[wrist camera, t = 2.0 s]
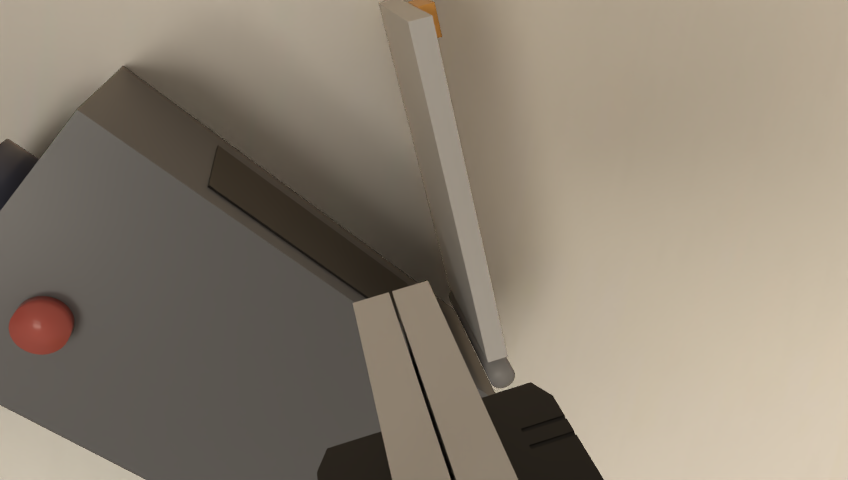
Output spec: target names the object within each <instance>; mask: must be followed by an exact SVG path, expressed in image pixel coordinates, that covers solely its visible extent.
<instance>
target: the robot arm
mask: <svg viewBox="0 0 848 480" xmlns="http://www.w3.org/2000/svg"><path fill="white" fill-rule="evenodd" d="M392 293H393V297H394V300H395V304H396V307H397V311H398V314H399V318H400V321H401V325H402V329H403V332H404V336H405V339H406V343H407V346H408V349H407V346H406V343H405V340H404V337H403V334H402V331H401V328H400V325H399V322H398V319H397V316H396V313H395V309H394V306H393V303H392V300H391V297H390V294H389V292H388V293H384V294H381V295H378V296H374V297H371V298H368V299H364V300H361V301H358V302H354V303H353V307H354V312H355V316H356V321H357V325H358V330H359V334H360V338H361V343H362V347H363V352H364V356H365V361H366V365H367V370H368V374H369V379H370V383H371V387H372V392H373V396H374V401H375V405H376V410H377V414H378V419H379V423H380V428H381V432H378V433H375V434H371V435H368V436H365V437H362V438H359V439H355V440H352V441H349V442H346V443H343V444H339V445H336V446H333V447H330V448H327V450H326V452H325V454H324V457H323V459H322V461H321V464H320V466H319V468H318V471H317V479H318V480H604V479H603V478H602V476H601V474H600V473H599V471H598V469H597V468H596V466H595V464H594V463H593V461H592V460H591V458H590V456H589V455H588V453H587V451H586V450H585V448H584V446H583V445H582V443H581V441H580V440H579V438H578V437H577V435H575V433H574V430H573V428H572V427H571V425H570V423H569V422H568V420H567V419H566V418H565V416H564V414H563V412H562V410H561V409H560V407H559V405H558V404H557V402H556V400H555V399H554V397H553V396H552V395H551V394H549V393H547V392H546V391H544V390H542V389H541V388H539V387H538V386H536V385H534V384H533V383H527V384H524V385H521V386H518V387H515V388H511V389H508V390H505V391H502V392H499V393H495V394H492V395H489V396H486V397H483V398H481V396H480V394H479V392H478V390H477V388H476V385H475V383H474V381H473V379H472V377H471V374H470V372H469V370H468V368H467V366H466V363H465V361H464V359H463V357H462V355H461V352H460V350H459V348H458V346H457V344H456V341H455V339H454V337H453V335H452V333H451V330H450V328H449V326H448V324H447V322H446V319H445V317H444V315H443V313H442V311H441V308H440V306H439V304H438V302H437V300H436V297H435V295H434V293H433V291H432V289H431V286H430V284H429V282H428V281H425V282H421V283H418V284H415V285H411V286H408V287H405V288H401V289H398V290H395V291H392ZM408 350H409V352H408ZM409 353H410V355H409ZM410 357H411V358H410ZM411 360H412V361H411Z"/></svg>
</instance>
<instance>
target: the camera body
mask: <svg viewBox="0 0 848 480" xmlns="http://www.w3.org/2000/svg"><path fill="white" fill-rule="evenodd" d="M415 284H418V283H417V282H416V281H415V280H413V279H412V278H410V277H409V276H408V275H406V274H405V273H404V272H402V271H401V270H400V269H398V268H397V267H396V266H394V265H393V264H391V263H390V262H389V261H387V260H386V259H385V258H383V257H382V256H381V255H379V254H378V253H377V252H375V251H374V250H372V249H371V248H370V247H368V246H367V245H366V244H364V243H363V242H362V241H360V240H359V239H357V238H356V237H355V236H353V235H352V234H351V233H349V232H348V231H347V230H345V229H344V228H343V227H341V226H340V225H338V224H337V223H336V222H334V221H333V220H332V219H330V218H329V217H328V216H326V215H325V214H324V213H322V212H321V211H319V210H318V209H317V208H315V207H314V206H313V205H311V204H310V203H309V202H307V201H306V200H305V199H303V198H302V197H300V196H299V195H298V194H296V193H295V192H294V191H292V190H291V189H290V188H288V187H287V186H286V185H284V184H283V183H281V182H280V181H279V180H277V179H276V178H275V177H273V176H272V175H271V174H269V173H268V172H267V171H265V170H264V169H262V168H261V167H260V166H258V165H257V164H256V163H254V162H253V161H252V160H250V159H249V158H248V157H246V156H245V155H243V154H242V153H241V152H239V151H238V150H237V149H235V148H234V147H233V146H231V145H230V144H229V143H227V142H226V141H224V140H223V139H222V138H220V137H219V136H218V135H216V134H215V133H214V132H212V131H211V130H210V129H208V128H207V127H205V126H204V125H203V124H201V123H200V122H199V121H197V120H196V119H195V118H193V117H192V116H191V115H189V114H188V113H186V112H185V111H184V110H182V109H181V108H180V107H178V106H177V105H176V104H174V103H173V102H172V101H170V100H169V99H167V98H166V97H165V96H163V95H162V94H161V93H159V92H158V91H157V90H155V89H154V88H153V87H151V86H150V85H148V84H147V83H146V82H144V81H143V80H142V79H140V78H139V77H138V76H136V75H135V74H134V73H132V72H131V71H129V70H128V69H127V68H125V67H124V66H123V67H122V68H120V69H119V70H118V71H117V72H116V73H115V74H114V75H113V76H112V77H111V78H110V79H109V80H108V81H107V82H106V83H104V84H103V85H102V86H101V87H100V88H99V89H98V90H97V91H96V92H95V93H94V94H93V95H92V96H91V97H90V98H88V99H87V100H86V101H85V102H84V103H83V104H82V105H81V106H80V107H79V108H78V109H77V110H76V111H75V113H74V114H73V115H72V116H71V118H70V119H69V120H68V122H67V123H66V124H65V126H64V127H63V128H62V130H61V131H60V132H59V134H58V135H57V136H56V138H55V139H54V140H53V142H52V143H51V144H50V146H49V147H48V148H47V150H46V151H45V152H44V154H43V155H42V156H41V158H40V159H38V158H37V157H35V156H34V155H32V154H31V153H29V152H28V151H26V150H25V149H23V148H22V147H20V146H19V145H17V144H15V143H14V142H12V141H11V140H9V139H6V140H5V141H3V142H2V143H1V144H0V405H1V406H3V407H5V408H7V409H9V410H11V411H13V412H15V413H17V414H19V415H21V416H23V417H25V418H27V419H29V420H31V421H32V422H34V423H36V424H38V425H40V426H42V427H44V428H46V429H48V430H50V431H52V432H54V433H56V434H58V435H60V436H62V437H64V438H66V439H68V440H70V441H72V442H73V443H75V444H77V445H79V446H81V447H83V448H85V449H87V450H89V451H91V452H93V453H95V454H97V455H99V456H101V457H103V458H105V459H107V460H109V461H111V462H113V463H114V464H116V465H118V466H120V467H122V468H124V469H126V470H128V471H130V472H132V473H134V474H136V475H138V476H140V477H142V478H144V479H146V480H318V479H317V471H318V468H319V466H320V464H321V461H322V459H323V457H324V454H325V452H326V450H327V448H330V447H333V446H336V445H339V444H343V443H346V442H349V441H352V440H355V439H359V438H362V437H365V436H368V435H371V434H375V433H378V432H381V428H380V423H379V419H378V414H377V410H376V405H375V401H374V396H373V392H372V387H371V383H370V379H369V374H368V370H367V365H366V361H365V356H364V352H363V347H362V343H361V338H360V334H359V330H358V325H357V321H356V316H355V312H354V307H353V303H354V302H358V301H361V300H364V299H368V298H371V297H374V296H378V295H381V294H384V293H388V292H389V294H390V297H391V300H392V303H393V306H394V309H395V313H396V316H397V319H398V322H399V325H400V328H401V331H402V334H403V337H404V340H405V343H406V339H405V336H404V332H403V329H402V325H401V321H400V318H399V314H398V311H397V307H396V304H395V300H394V297H393V293H392V291H395V290H398V289H401V288H405V287H408V286H411V285H415ZM435 297H436V296H435ZM436 300H437V302H438V304H439V306H440V308H441V311H442V313H443V315H444V317H445V319H446V322H447V324H448V326H449V328H450V330H451V333H452V335H453V337H454V339H455V341H456V344H457V346H458V348H459V350H460V352H461V355H462V357H463V359H464V361H465V363H466V366H467V368H468V370H469V372H470V374H471V377H472V379H473V381H474V383H475V385H476V388H477V390H478V392H479V394H480V396H481V398H483V397H486V396H489V395H492V394H495V392H494V390H493V388H492V386H491V384H490V382H489V380H488V378H487V376H486V373H485V371H484V369H483V367H482V365H481V363H480V361H479V359H478V357H477V355H476V353H475V351H474V349H473V347H472V345H471V343H470V341H469V339H468V337H467V335H466V333H465V331H464V329H463V327H462V325H461V323H460V320H459V318H458V316H457V314H456V312H455V310H454V309H453V308H451V307H450V306H448V305H447V304H446V303H444V302H443V301H442V300H440V299H439V298H438V297H436ZM406 346H407V343H406ZM407 349H408V346H407ZM408 352H409V350H408ZM409 355H410V353H409ZM410 358H411V357H410ZM411 361H412V360H411Z"/></svg>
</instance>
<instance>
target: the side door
mask: <svg viewBox="0 0 848 480" xmlns="http://www.w3.org/2000/svg"><path fill="white" fill-rule="evenodd" d="M379 6H380V10H381V15H382V19H383V23H384V27H385V31H386V35H387V39H388V43H389V47H390V51H391V55H392V59H393V63H394V67H395V71H396V75H397V79H398V83H399V87H400V91H401V95H402V99H403V103H404V107H405V111H406V115H407V119H408V123H409V127H410V131H411V135H412V140H413V144H414V148H415V152H416V156H417V160H418V164H419V168H420V172H421V176H422V180H423V184H424V188H425V192H426V196H427V200H428V204H429V208H430V212H431V216H432V220H433V224H434V228H435V232H436V236H437V240H438V244H439V248H440V252H441V256H442V260H443V265H444V269H445V273H446V277H447V281H448V285H449V287H450V289H451V292H450V295H449V298H450V301H451V303H452V305H453V307H454V309H455V311H456V313H457V315H458V317H459V319H460V321H461V323H462V325H463V327H464V329H465V331H466V334H467V336H468V338H469V340H470V342H471V344H472V346H473V348H474V350H475V352H476V354H477V356H478V358H479V360H480V362H481V364H482V366H483V368H484V370H485V372H486V374H487V376H488V378H489V380H490V382H491V384H492V385H493V386H494V387H497V388H504V387H507V386H509V385H510V384H511V383H512V382H513V380H514V377H515V373H514V370H513V369H512V367H511V365H510V363H509V361H508V360H507V358H506V357H508V355H507V351H506V346H505V342H504V337H503V332H502V328H501V323H500V319H499V314H498V310H497V305H496V301H495V296H494V292H493V287H492V283H491V278H490V274H489V269H488V265H487V260H486V256H485V251H484V247H483V242H482V238H481V233H480V229H479V224H478V220H477V215H476V211H475V206H474V202H473V197H472V192H471V188H470V183H469V179H468V174H467V170H466V165H465V161H464V156H463V152H462V147H461V143H460V138H459V134H458V129H457V125H456V120H455V116H454V111H453V107H452V102H451V98H450V93H449V89H448V84H447V80H446V75H445V71H444V66H443V62H442V57H441V52H440V48H439V43H438V39H437V38H439V37H442V34H441V30H440V25H439V21H438V16H437V12H436V7H435V2H433V1H431V0H412V1H409V2H408V3H407V2H405V1H404V0H387V1H383V2H379Z"/></svg>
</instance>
